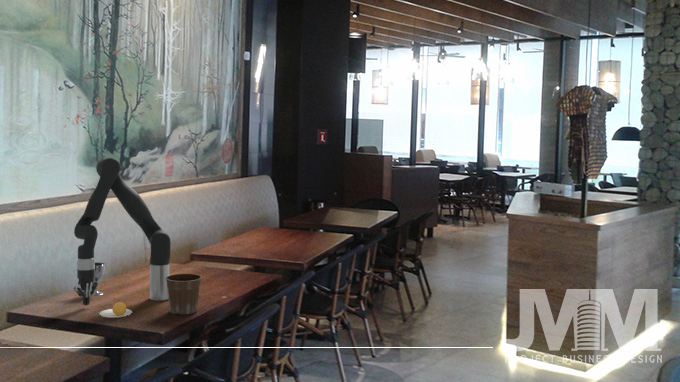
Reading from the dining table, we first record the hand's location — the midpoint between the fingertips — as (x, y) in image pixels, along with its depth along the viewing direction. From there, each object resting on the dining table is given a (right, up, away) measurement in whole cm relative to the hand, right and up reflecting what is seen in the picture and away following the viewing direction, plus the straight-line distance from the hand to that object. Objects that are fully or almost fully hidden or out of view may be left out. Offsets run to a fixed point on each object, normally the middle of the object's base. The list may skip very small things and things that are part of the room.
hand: (86, 304), depth 322 cm
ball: (+18, 0, -10) cm, 21 cm away
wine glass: (-4, +1, +26) cm, 26 cm away
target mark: (+16, -3, -7) cm, 17 cm away
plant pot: (+45, -3, -1) cm, 45 cm away
